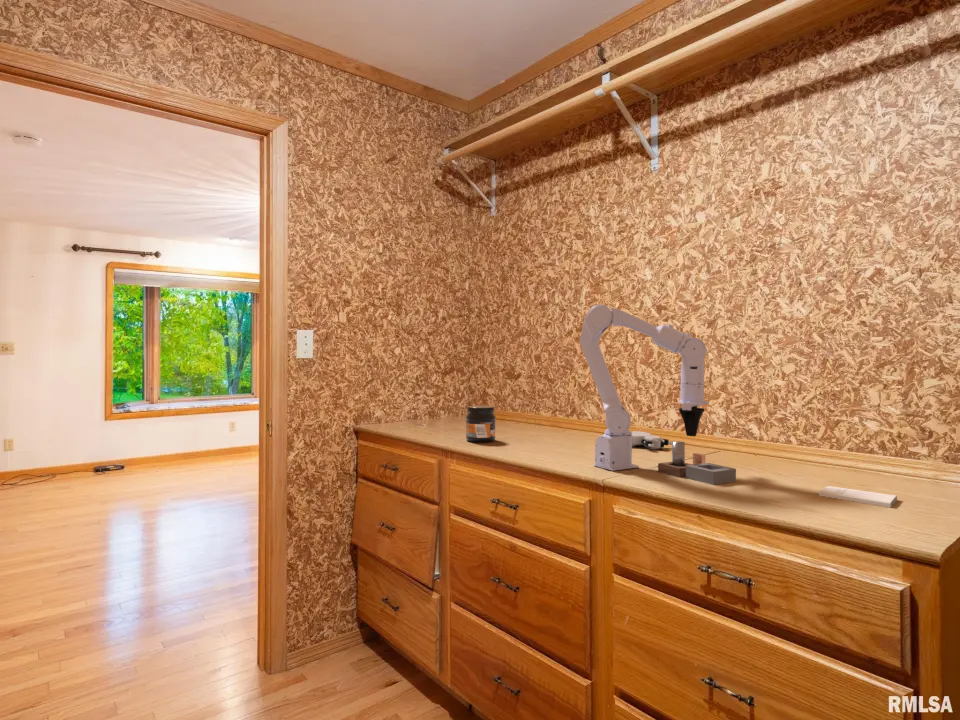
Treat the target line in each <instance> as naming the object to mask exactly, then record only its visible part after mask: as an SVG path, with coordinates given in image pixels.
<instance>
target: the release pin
mask: <svg viewBox="0 0 960 720" xmlns="http://www.w3.org/2000/svg"><path fill="white" fill-rule="evenodd" d="M702 463H706V454H703V453H698V452H693V453H692V464H693V465H694V464H702Z"/></svg>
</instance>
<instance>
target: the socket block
mask: <svg viewBox="0 0 960 720" xmlns="http://www.w3.org/2000/svg"><path fill="white" fill-rule="evenodd" d="M687 465H693V463H687V462H685V466H681V467H678V466H674V465H672V461H666V462H665V461H664V462H658V463H657V472H658V473H662V474H665V475H668V476H673V477H678V478H684V477H685V478H686V466H687Z"/></svg>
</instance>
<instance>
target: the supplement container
mask: <svg viewBox="0 0 960 720" xmlns="http://www.w3.org/2000/svg"><path fill="white" fill-rule="evenodd" d="M466 409H467V414H466V415H465V423H466V424H465V425H466V426H465V429H466V430H465V439H466V440H467V441H468V442H470V443H478V444H479V443H480V444H481V443H482V444H483V443H484V444H486V443H492V442H494V441H495V440H496V438H497V437H496V436H497V435H496V419H497V416H496V415H495V406H493V405H469V406H467V408H466Z"/></svg>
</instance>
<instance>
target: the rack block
mask: <svg viewBox="0 0 960 720" xmlns="http://www.w3.org/2000/svg"><path fill="white" fill-rule="evenodd" d="M685 478H686V479H690V480H693V481H696V482H697V481H698V482H701V483H704V484H710V485H712V486H714V485H720V484H727V483H734V482H736V481H737V468H734V467H730V466H726V465H725V466H724V465H720V464H715V463H711V462H705V463H702V464H694V465H687V466H686V476H685Z"/></svg>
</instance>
